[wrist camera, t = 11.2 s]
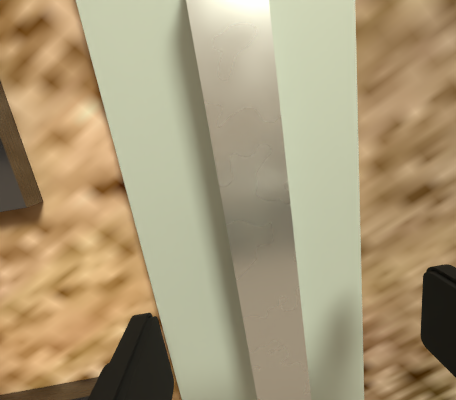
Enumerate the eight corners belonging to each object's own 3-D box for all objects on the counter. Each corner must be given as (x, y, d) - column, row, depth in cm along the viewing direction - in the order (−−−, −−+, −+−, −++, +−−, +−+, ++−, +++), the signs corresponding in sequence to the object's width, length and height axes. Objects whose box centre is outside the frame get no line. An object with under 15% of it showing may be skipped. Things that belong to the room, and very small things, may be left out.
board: (340, -94, 9) (352, -116, 8) (358, 444, 16) (365, 459, 15) (69, -57, 9) (55, -75, 8) (206, 474, 16) (206, 491, 15)
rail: (250, -25, 9) (261, -72, 7) (307, 449, 15) (321, 496, 13) (183, -15, 9) (175, -59, 7) (267, 457, 15) (276, 505, 13)
